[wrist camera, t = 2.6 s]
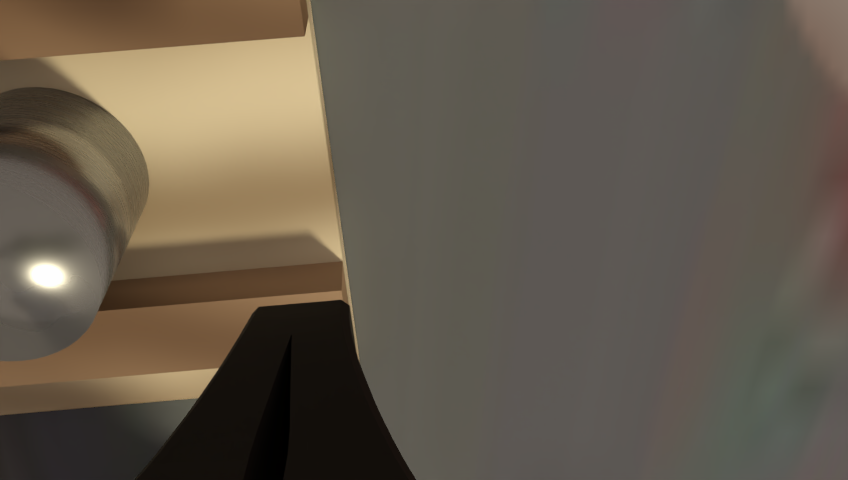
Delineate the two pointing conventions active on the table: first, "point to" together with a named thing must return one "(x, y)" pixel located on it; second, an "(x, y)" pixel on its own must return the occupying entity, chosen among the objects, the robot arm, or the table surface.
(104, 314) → the slot board
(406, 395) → the table surface
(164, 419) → the table surface
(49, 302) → the puck
